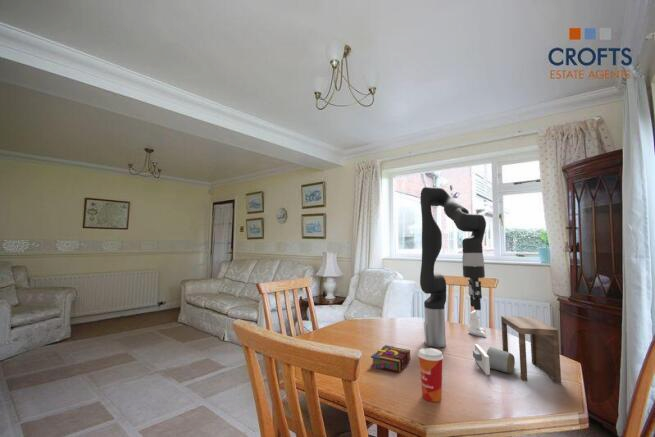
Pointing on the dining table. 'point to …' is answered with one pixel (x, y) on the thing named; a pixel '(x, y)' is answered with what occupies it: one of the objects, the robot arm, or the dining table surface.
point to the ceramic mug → (501, 360)
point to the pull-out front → (482, 359)
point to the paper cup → (431, 373)
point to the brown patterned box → (391, 358)
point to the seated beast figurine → (476, 325)
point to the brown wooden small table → (535, 344)
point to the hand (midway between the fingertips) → (475, 308)
